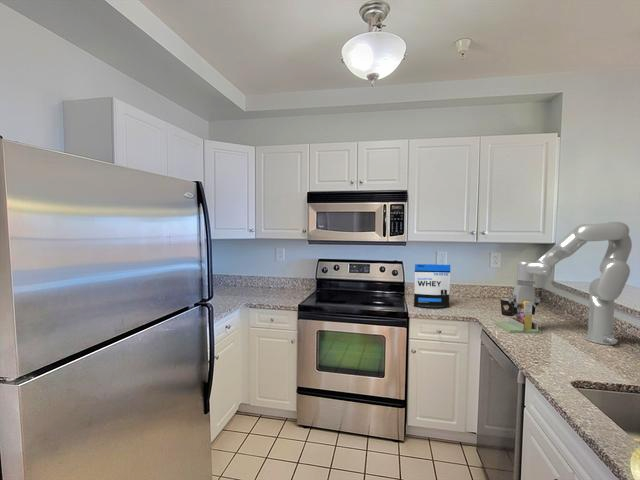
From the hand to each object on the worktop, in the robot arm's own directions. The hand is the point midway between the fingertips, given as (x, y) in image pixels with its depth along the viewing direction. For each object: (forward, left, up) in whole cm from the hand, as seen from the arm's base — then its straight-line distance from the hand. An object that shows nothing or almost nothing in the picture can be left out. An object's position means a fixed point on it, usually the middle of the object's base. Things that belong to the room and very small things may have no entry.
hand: (523, 314), depth 183 cm
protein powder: (+47, +35, -9) cm, 59 cm away
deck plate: (+2, +2, -9) cm, 9 cm away
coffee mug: (+29, -9, -9) cm, 32 cm away
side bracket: (0, 0, -7) cm, 7 cm away
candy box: (0, 0, -7) cm, 7 cm away
